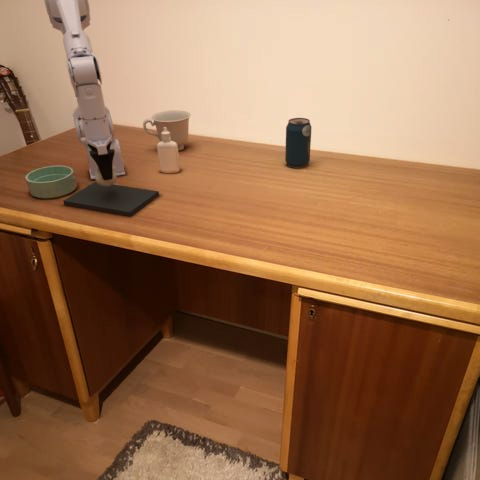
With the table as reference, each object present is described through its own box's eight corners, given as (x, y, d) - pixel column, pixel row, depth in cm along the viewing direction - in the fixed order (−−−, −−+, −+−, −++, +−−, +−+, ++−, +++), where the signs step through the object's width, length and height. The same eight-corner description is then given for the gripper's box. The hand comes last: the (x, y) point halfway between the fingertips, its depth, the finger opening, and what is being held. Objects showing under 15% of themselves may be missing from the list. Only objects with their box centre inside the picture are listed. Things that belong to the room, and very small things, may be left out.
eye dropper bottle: (172, 175, 130) (166, 131, 122) (158, 171, 132) (151, 127, 125) (182, 170, 132) (177, 126, 125) (168, 166, 135) (162, 123, 128)
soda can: (313, 166, 131) (316, 122, 124) (291, 170, 129) (293, 125, 122) (302, 158, 136) (304, 115, 129) (281, 162, 134) (281, 119, 127)
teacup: (144, 146, 151) (139, 114, 144) (189, 140, 154) (186, 108, 147) (150, 158, 141) (144, 124, 135) (197, 151, 145) (194, 118, 138)
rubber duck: (91, 187, 114) (83, 155, 109) (108, 178, 119) (102, 146, 114) (108, 191, 112) (100, 158, 107) (125, 181, 116) (119, 149, 111)
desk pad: (159, 195, 119) (158, 191, 118) (130, 216, 110) (129, 212, 109) (96, 185, 126) (95, 181, 125) (64, 205, 116) (62, 200, 116)
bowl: (76, 178, 130) (72, 163, 127) (78, 194, 121) (74, 178, 118) (31, 185, 127) (26, 169, 125) (30, 202, 118) (24, 185, 116)
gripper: (74, 111, 110) (88, 167, 118) (77, 127, 99) (92, 188, 107) (104, 107, 111) (115, 163, 120) (111, 123, 101) (123, 183, 109)
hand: (106, 175), depth 114 cm, fingers closed on rubber duck, 5 cm apart
